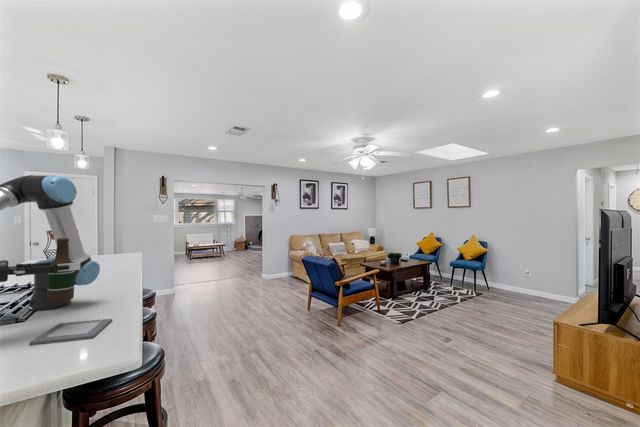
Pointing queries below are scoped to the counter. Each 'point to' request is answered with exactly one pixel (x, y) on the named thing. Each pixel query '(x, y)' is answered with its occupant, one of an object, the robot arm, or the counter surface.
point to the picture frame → (72, 331)
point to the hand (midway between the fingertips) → (78, 264)
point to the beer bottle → (61, 275)
